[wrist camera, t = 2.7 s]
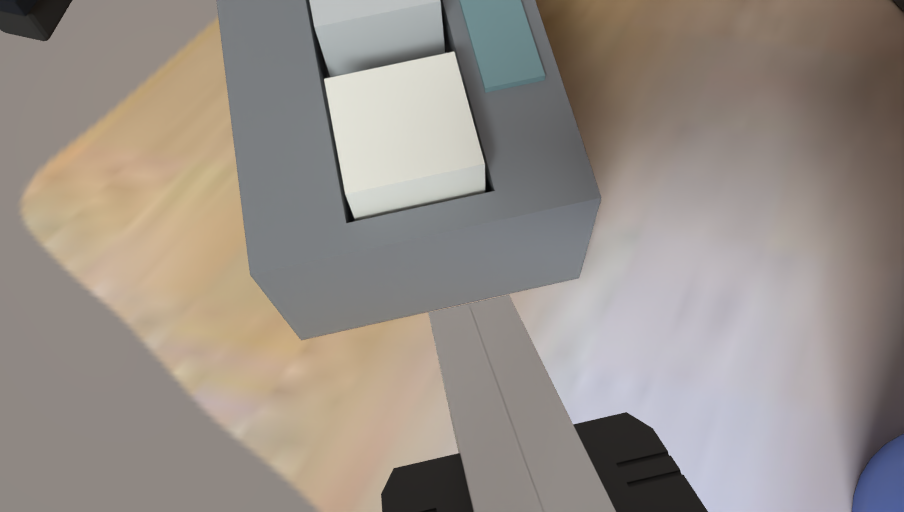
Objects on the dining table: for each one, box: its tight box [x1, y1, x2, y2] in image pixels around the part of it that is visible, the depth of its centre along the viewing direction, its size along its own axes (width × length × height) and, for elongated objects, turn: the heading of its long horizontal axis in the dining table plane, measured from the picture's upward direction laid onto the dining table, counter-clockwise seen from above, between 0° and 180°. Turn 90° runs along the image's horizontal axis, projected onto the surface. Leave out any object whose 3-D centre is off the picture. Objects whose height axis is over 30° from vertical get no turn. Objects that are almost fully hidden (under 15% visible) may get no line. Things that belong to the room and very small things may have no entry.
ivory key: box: [324, 52, 485, 221], centre depth 29 cm, size 5×5×3 cm
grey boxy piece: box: [217, 0, 601, 340], centre depth 36 cm, size 23×13×8 cm, turn 12°
